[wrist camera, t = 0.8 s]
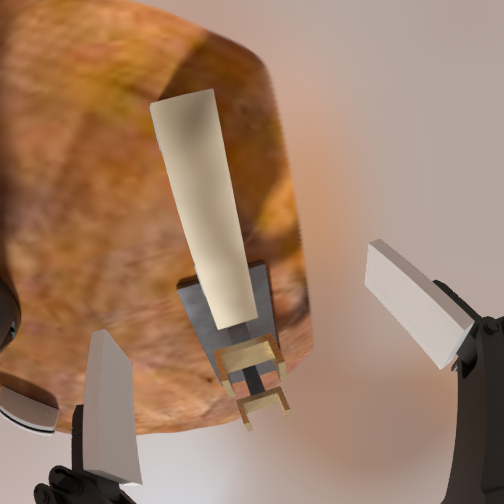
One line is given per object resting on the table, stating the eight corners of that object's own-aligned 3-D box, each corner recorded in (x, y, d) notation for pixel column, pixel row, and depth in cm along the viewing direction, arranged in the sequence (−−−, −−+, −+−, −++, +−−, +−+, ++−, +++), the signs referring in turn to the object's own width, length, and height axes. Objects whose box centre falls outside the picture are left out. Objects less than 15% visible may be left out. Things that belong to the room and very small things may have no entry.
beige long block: (208, 294, 29) (217, 330, 25) (155, 104, 18) (150, 103, 14) (243, 283, 30) (258, 317, 26) (203, 92, 19) (213, 88, 15)
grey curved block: (2, 393, 36) (-6, 419, 27) (2, 380, 36) (-8, 406, 27) (59, 417, 44) (57, 445, 35) (60, 405, 44) (58, 434, 36)
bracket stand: (221, 382, 49) (238, 441, 38) (176, 285, 35) (187, 368, 24) (278, 364, 51) (304, 419, 40) (262, 259, 37) (305, 331, 26)
